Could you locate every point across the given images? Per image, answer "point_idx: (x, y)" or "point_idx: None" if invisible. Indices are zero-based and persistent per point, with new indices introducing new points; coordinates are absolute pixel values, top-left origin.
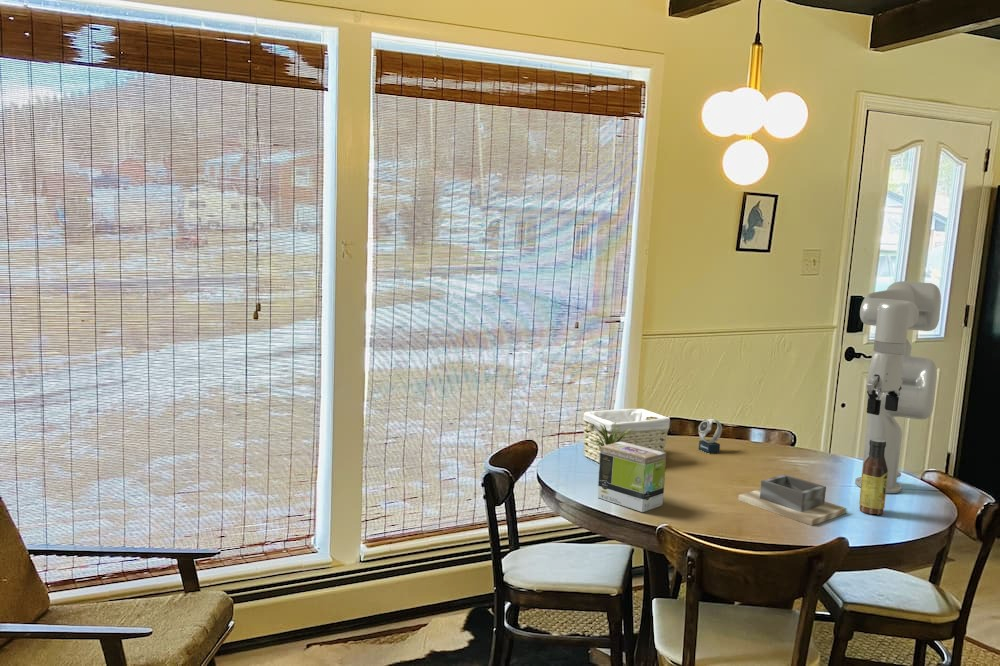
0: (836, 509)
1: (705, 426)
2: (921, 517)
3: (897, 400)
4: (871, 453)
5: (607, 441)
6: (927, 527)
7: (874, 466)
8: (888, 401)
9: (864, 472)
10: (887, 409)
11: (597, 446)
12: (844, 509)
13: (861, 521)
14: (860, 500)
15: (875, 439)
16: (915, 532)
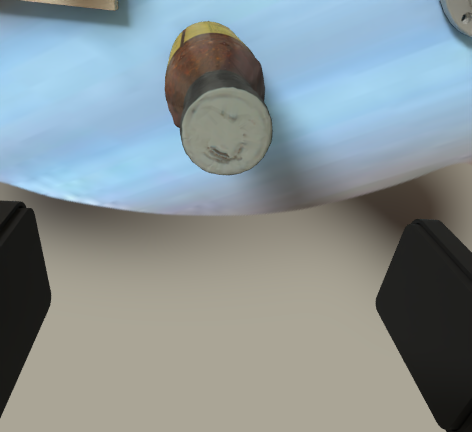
0: None
1: None
2: (282, 165)
3: (433, 401)
4: (186, 97)
5: None
6: (216, 199)
7: (171, 110)
8: (447, 307)
9: (174, 57)
10: (400, 244)
11: None
12: (102, 8)
13: (96, 76)
14: (180, 34)
15: (230, 118)
16: (153, 195)
